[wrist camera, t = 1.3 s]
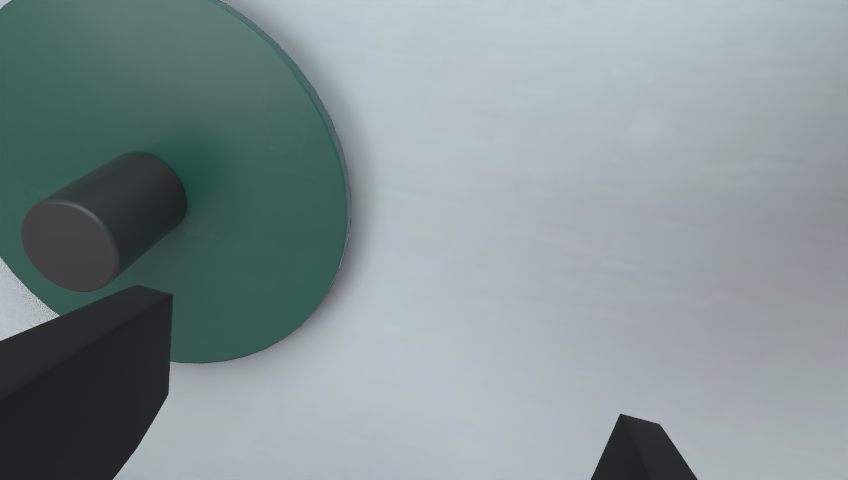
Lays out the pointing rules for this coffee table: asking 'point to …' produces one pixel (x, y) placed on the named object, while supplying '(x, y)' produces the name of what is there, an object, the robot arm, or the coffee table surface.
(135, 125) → the lid
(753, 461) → the coffee table surface
